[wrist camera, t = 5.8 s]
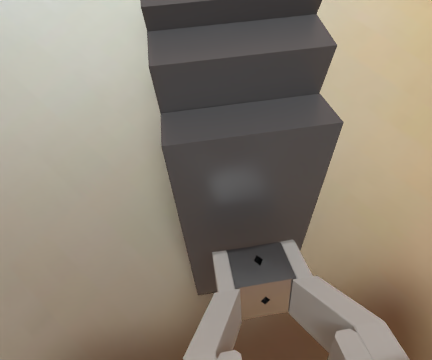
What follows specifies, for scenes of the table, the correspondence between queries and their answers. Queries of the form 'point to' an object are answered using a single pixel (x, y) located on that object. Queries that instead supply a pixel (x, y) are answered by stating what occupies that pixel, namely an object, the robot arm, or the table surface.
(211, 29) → the domino
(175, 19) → the domino
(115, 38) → the table surface
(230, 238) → the domino
